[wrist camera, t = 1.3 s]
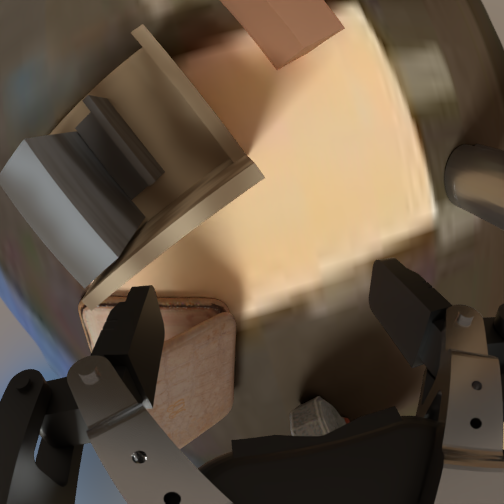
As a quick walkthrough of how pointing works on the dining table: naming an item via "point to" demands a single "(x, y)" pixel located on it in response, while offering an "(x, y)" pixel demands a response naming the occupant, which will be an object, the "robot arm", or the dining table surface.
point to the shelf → (127, 172)
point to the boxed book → (285, 26)
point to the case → (185, 362)
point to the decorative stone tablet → (315, 418)
